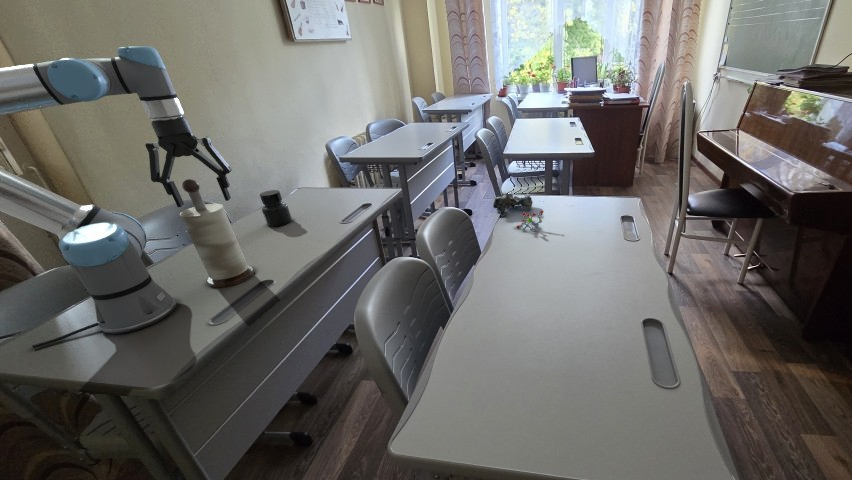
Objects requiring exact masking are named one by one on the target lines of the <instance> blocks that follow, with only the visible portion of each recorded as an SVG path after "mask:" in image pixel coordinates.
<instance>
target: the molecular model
mask: <svg viewBox="0 0 852 480" xmlns="http://www.w3.org/2000/svg"><path fill="white" fill-rule="evenodd" d="M543 213H544V210H542V209H541V210H540V211H539V212H538V213H537V214H536V213H535V212H532V214H531V217H530V213H526V212H524V211H523V212H522V217H523V219H522V222H521V223H520V224H518V225H516V226H515V227H516V229H520V228H521V231H523V232H525V231H526V228H529V230H530V231H534V232H537V231H538V227H540V224H542V223H543V220H542V219H541V216H542V215H543ZM535 216H536V217H537V218H538V221H537V222H536V221H535V220H533V217H535ZM530 223H531V225H534V227H533V226H530V225H529V224H530Z"/></svg>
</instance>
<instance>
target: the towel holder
mask: <svg viewBox="0 0 852 480" xmlns="http://www.w3.org/2000/svg"><path fill="white" fill-rule="evenodd" d="M181 187H182V189H183V190H184V191H185V192H186V193H187V194H188V196H189V198H190V201H191V202H192V204H193V206H192V207H189V208H186V209H183V210H182V211H181V212H179V217H180V219H181V222H182V223H183V226H184V227H185V230H186V231H187V234H188V235H189V238H190V241H191V242H192V244H193V246H194V248H195V250H196V252H197V254H198V257H199V259H200V261H201V263H202V265H203V266H204V269H205V271H206V273H207V275H208V277H207V279H206V281H207V284H208V286H209V287H213V288H226V287H231V286H236V285H238V284H241V283H243V282H245V281H247V280H249V279H250V278H251V277H252V276H253V275H254V274H255V270H254V268H253V267H252V266H251V265H248V262H247V260H246V258H245V255H244V252H243V250H242V248H241V246H240V243H239V241H238V238H237V236H236V233H235V231H234V229H233V226H232V224H231V222H230V219H229V216H228V214H227V212H226V210H225V208H224V205H223V204H221V203H205V202H204V199H203V197H202V195H201V192H200V184H199V182H198V181H196V180H195V179H193V178H188V179H184V180H183V182H182V183H181Z"/></svg>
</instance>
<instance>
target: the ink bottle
mask: <svg viewBox="0 0 852 480" xmlns="http://www.w3.org/2000/svg"><path fill="white" fill-rule="evenodd" d="M259 198H260V200H261V202H262V204H263V207H262V208H261V213H262V215H263V218H264V220H265V223H266V225H267V226H268V227H281V226H284V225H287V224H289V223H291V222H292V220H293V217H292V215H291V212H290V209H289V206H288V204H287V203H286V202H284V201H283V197H282V195H281V191H280V190H278V189H272V190H270V189H269V190H265V191H263V192H260V193H259Z"/></svg>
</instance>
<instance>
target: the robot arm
mask: <svg viewBox="0 0 852 480" xmlns="http://www.w3.org/2000/svg"><path fill="white" fill-rule="evenodd" d="M116 52H117V56H115V57H103V58H77V57H70V56H69V57H61V58H57V59H55V60H49V61H42V62H37V63H28V64H20V65H14V66H13V65H12V66H6V67H0V117H3V116H9V115H14V114H20V113H26V112H31V111H37V110H42V109H47V108H52V107H58V106H64V105H71V104H76V103H82V102H84V103H85V102H86V103H87V102H88V103H89V102H93V101H97V100H100V99H102V98H104V97H110V96H120V95H132V94H136V95H137V96H138V99H139V100H140V103H141V105H142V107H143V109H144V112H145V114H146V116H147V118H148V119H151V121H150V125H151V127H152V130H153V131H154V133H155V136H156V137H157V141H148V142H147V143H145V144H144V146H145V148H146V151H147V153H148V159H149V173H150V181H151V182H152V183H160V184H161V185H162V186H163V189H164V190H165V192H166V194H167V195H168V196H172V198H173V201H174V202H175V204H176V206H177V208H182V207H183V206H184V205H185V202H184V200H183V198H182V195H181V194H180V191H179V189H178V187H177V186H176V183H175V181H174V180H171V175H172V171H173V167H174V165H175V164H174V163H175V160H176V158H181V157H191V156H192V157H193V158H195V159H197V160H198V161H200V162H201V163H202V164H204V165H205V166H206V167H207V168H208V169H210V170H211V171H213V173H214V174H216V175H217V176H216V178H215V179H216V181H217V183H218V186H219V188H220V191H221V194H222V196H223V198H224V201H225V202H227V201H230V200H231V199H232V197H231V194H230V192H229V189H228V188H229V187H230V181H229V179H228V176H227V175H229V174H230V173H231V172H232V171H233V169H232V167H231V166H230V165H229V163H228V162H227V161H226V160H225V158H224V157H223V156H222V155H221V153H220V152H219V151H218V150H217V149H216V148H215V146H214V145H213V143H212V140H211V138H210V136H207V135H205V136H204V137H196V136H195V134H194V133H193V132H194V131H193V130H192V128H191V125H190V123H189V121H188V118H187V117H185V116H184V115H185V111H184V109H183V106H182V104H181V102H180V99H179V97H178V94H177V92H176V90H175V87H174V84H173V83H172V80H171V77H170V75H169V72H168V69H167V67H166V66H165V63H164V61H163V59H162V57H161V55H160V53H159V51H158V49H156V48H154V47H153V46H148V45H146V46H145V45H144V46H143V45H141V46H140V45H138V46H120V47H117V49H116ZM198 144H200V145H201V146H202V147H204V148H205V151H207V153H208V154H209V155H210V156H211V157H212V159H211V158H209V157H208V156H207V155H206V154H204V153H203V151H201V150H200V149H199V148H198V147H197V146H198ZM160 148H161V149H163V150H164V151H166V154H165V160H164V164H163V169H162V173H161V169H160V154H159V150H160ZM213 160H214V161H215V162H214V161H213ZM216 163H217V164H216ZM0 212H1V213H4V214H6V215H8V216H11V217H13V218H16V219H18V220H20V221H23V222H26V223H28V224H30V225H32V226H36V227H38V228H39V229H43V230H45V231H47V232H50V233H52V234H55V236H57V237H58V240H59V241H58V249H59V251H60V252H61V256H62V257H63V259H64V260H65V261H66V262H67V263H68V265H69V266H70V268H71V270H73V272H74V273H75V275H76V276H77V278H78V279H79V281H80V282H81V284H82V286H83V287H84V288H85V290H86V291H87V292H88V294H89V296H90V297H91V298H92V300H93V302H94V309H95V315H96V322H95V323H92V324H90V325H87V326H84V327H81V328H79V329H77V330H76V329H75V330H74V331H71V332H68V333H66V334H63V335H61V336H58V337H55V338H52V339H49V340H46V341H41V342H39V343H35V344H32V345H31V347H32V349H35V348H39V347H42V346H45V345H49V344H52V343H56V342H59V341H61V340H64V339H66V338H69V337H71V336H74V335H76V334H79V333H82V332H84V331H87V330H90V329H92V328H95V327H99V328H100V330H101V331H102V332H103V333H105V334H109V335H119V334H120V335H121V334H126V333H130V332H135V331H138V330H141V329H144V328H146V327H150V326H151V325H154V324H157V323H158V322H160V321H161V320H163V319H165V318H167V317H168V316H169V315H171V314H172V313H173V311H175V309H176V308H177V307H176V306H177V303H176V301H175V299H174V298H173V297H172V296H171V294H170V293H168V292H167V291H166V290H165V289H164V288H162V287H161V286H160V285H159V284H158V283H156V282H155V280H154V279H153V277H152V276H151V274H150V272H149V271H148V269H147V267H146V265H145V264H144V262H143V260H142V255H143V252H144V249H145V248H146V246H147V240H148V239H147V233H146V231H145V228H144V226H143V225H142V223H140V221H138V220H137V219H136V218H134V217H133V216H131V215H129V214H126V213H123V212H118V211H108V210H106V209H104V208H102V207H100V206H98V205H96V204H92V203H91V204H79V203H76V202H74V201H73V200H70V199H68V198H66V197H64V196H62V195H59V194H57V193H55V192H53V191H51V190H48V189H47V188H45V187H42V186H40V185H38V184H36V183H34V182H32V181H30V180H27V179H25V178H23V177H20V176H18V175H16V174H14V173H12V172H9V171H8V170H5V169H3V168H1V167H0Z"/></svg>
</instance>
